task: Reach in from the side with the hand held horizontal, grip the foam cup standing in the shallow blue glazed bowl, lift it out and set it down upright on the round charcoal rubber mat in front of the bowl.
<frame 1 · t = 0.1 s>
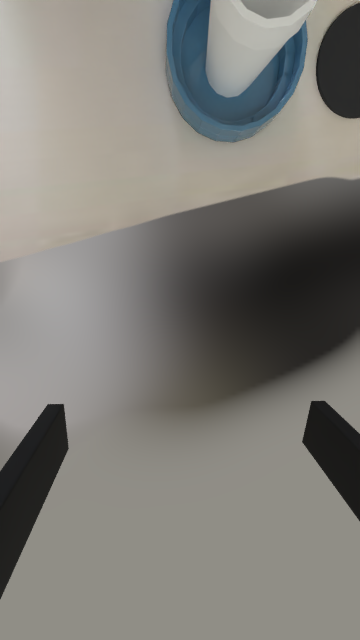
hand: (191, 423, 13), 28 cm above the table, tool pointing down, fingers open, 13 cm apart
foam cup: (229, 68, 31), resting in bowl
mat: (359, 64, 32), on the table
bowl: (229, 69, 32), on the table
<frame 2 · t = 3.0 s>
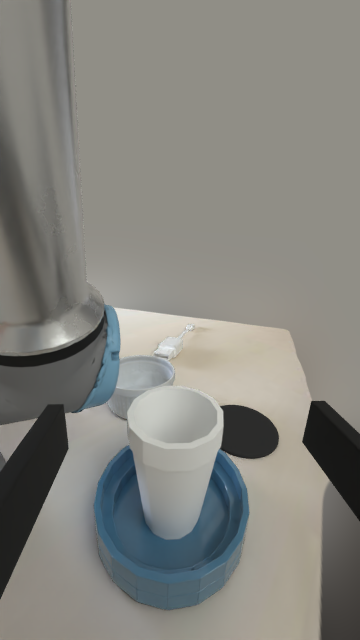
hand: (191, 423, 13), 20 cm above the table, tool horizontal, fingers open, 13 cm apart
ramekin: (139, 403, 47), on the table
foam cup: (171, 509, 28), resting in bowl
mat: (240, 429, 41), on the table
charging cable: (179, 343, 77), on the table
bowl: (171, 510, 28), on the table
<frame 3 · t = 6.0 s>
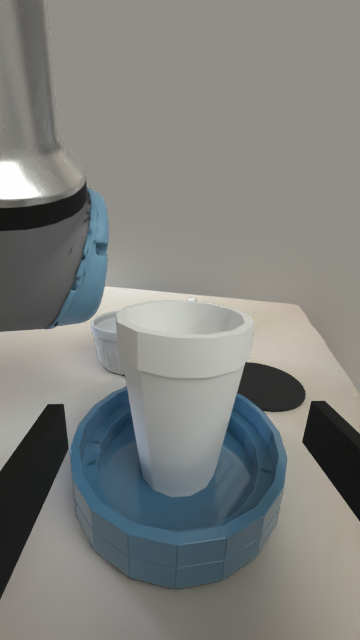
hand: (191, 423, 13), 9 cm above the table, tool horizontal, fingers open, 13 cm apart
ramekin: (136, 361, 40), on the table
foam cup: (177, 463, 21), resting in bowl
mat: (257, 384, 34), on the table
bowl: (177, 465, 21), on the table
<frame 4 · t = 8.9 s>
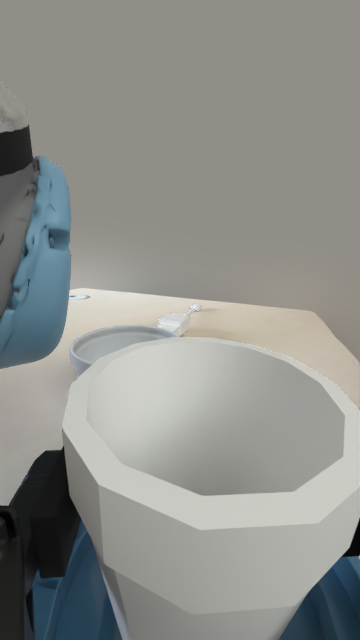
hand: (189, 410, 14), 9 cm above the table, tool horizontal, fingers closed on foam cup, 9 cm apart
ramekin: (130, 392, 32), on the table
foam cup: (190, 613, 12), resting in bowl, touching gripper
charging cable: (183, 323, 61), on the table
bowl: (189, 616, 12), on the table
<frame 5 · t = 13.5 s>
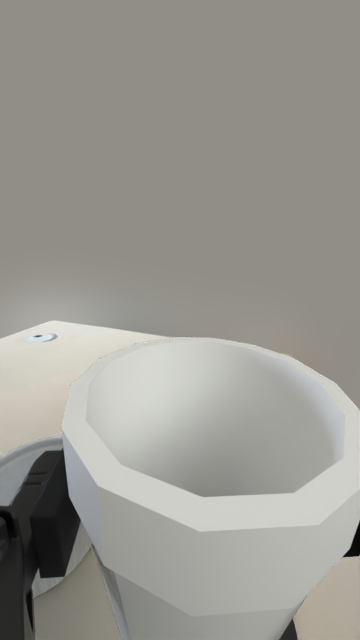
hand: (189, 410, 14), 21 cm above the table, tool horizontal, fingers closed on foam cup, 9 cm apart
ramekin: (44, 534, 26), on the table
foam cup: (189, 614, 12), point 12 cm above the table, touching gripper
when the fingers open (9 cm above the table, at t = 18.1 s): foam cup stays where it is, resting on mat.
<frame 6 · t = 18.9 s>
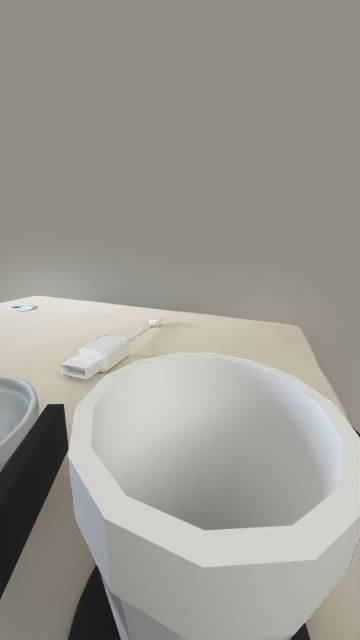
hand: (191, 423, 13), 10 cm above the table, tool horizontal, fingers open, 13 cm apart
foam cup: (191, 626, 13), resting on mat
mat: (189, 626, 13), on the table
charging cable: (128, 346, 48), on the table
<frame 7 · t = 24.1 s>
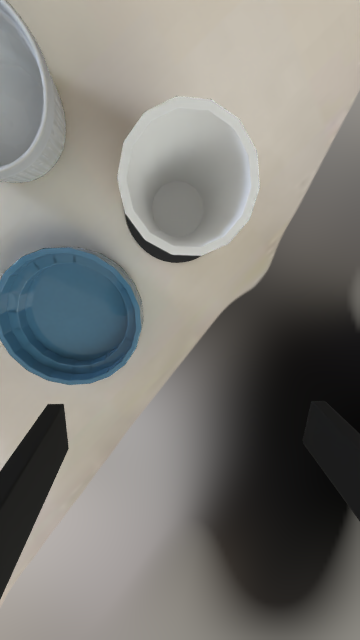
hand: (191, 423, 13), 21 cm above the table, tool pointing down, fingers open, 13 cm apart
ramekin: (12, 123, 26), on the table
foam cup: (177, 210, 29), resting on mat
mat: (176, 210, 29), on the table
bowl: (79, 313, 32), on the table
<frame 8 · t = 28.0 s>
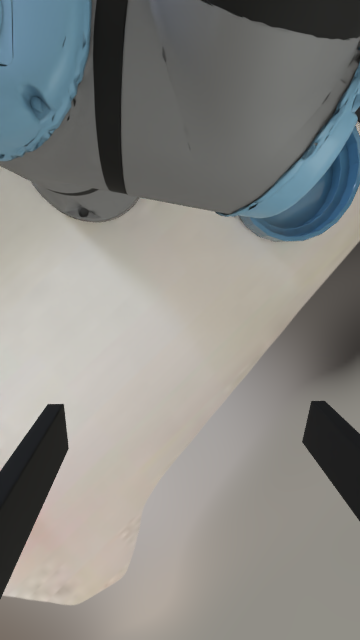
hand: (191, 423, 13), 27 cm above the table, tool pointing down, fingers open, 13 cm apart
bowl: (286, 181, 35), on the table
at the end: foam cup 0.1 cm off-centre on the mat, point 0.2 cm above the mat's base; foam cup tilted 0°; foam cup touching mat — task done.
